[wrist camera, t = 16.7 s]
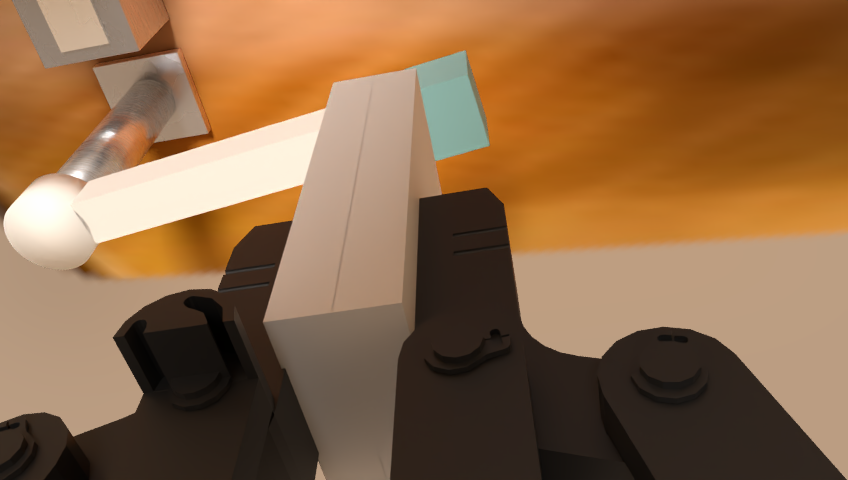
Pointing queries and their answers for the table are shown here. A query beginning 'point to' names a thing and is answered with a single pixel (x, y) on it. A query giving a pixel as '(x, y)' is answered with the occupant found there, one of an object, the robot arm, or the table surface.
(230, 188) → the swing arm
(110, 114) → the post
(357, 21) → the table surface
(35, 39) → the grey tin
